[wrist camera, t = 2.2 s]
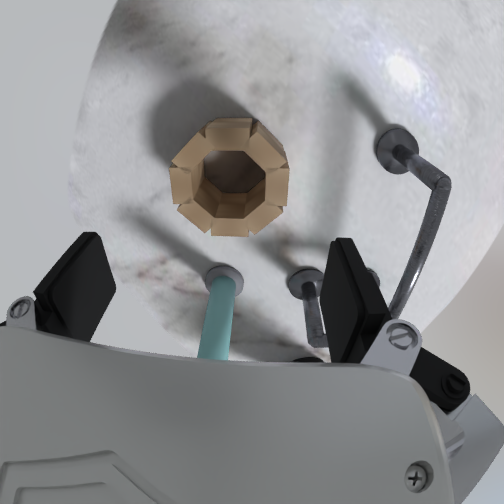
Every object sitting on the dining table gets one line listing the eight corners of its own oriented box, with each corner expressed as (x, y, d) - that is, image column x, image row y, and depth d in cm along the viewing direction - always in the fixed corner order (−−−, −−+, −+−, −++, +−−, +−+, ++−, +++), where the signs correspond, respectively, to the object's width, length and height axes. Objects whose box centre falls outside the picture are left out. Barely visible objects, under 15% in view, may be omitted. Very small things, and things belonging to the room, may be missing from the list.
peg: (204, 265, 23) (180, 359, 15) (243, 266, 23) (234, 363, 15) (207, 293, 24) (189, 383, 17) (243, 295, 24) (236, 387, 17)
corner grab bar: (306, 114, 15) (329, 136, 10) (419, 133, 15) (475, 166, 10) (287, 296, 24) (291, 358, 19) (372, 296, 24) (392, 353, 19)
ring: (183, 119, 16) (165, 130, 13) (286, 119, 16) (292, 130, 13) (190, 207, 20) (177, 234, 17) (280, 209, 19) (283, 238, 17)
